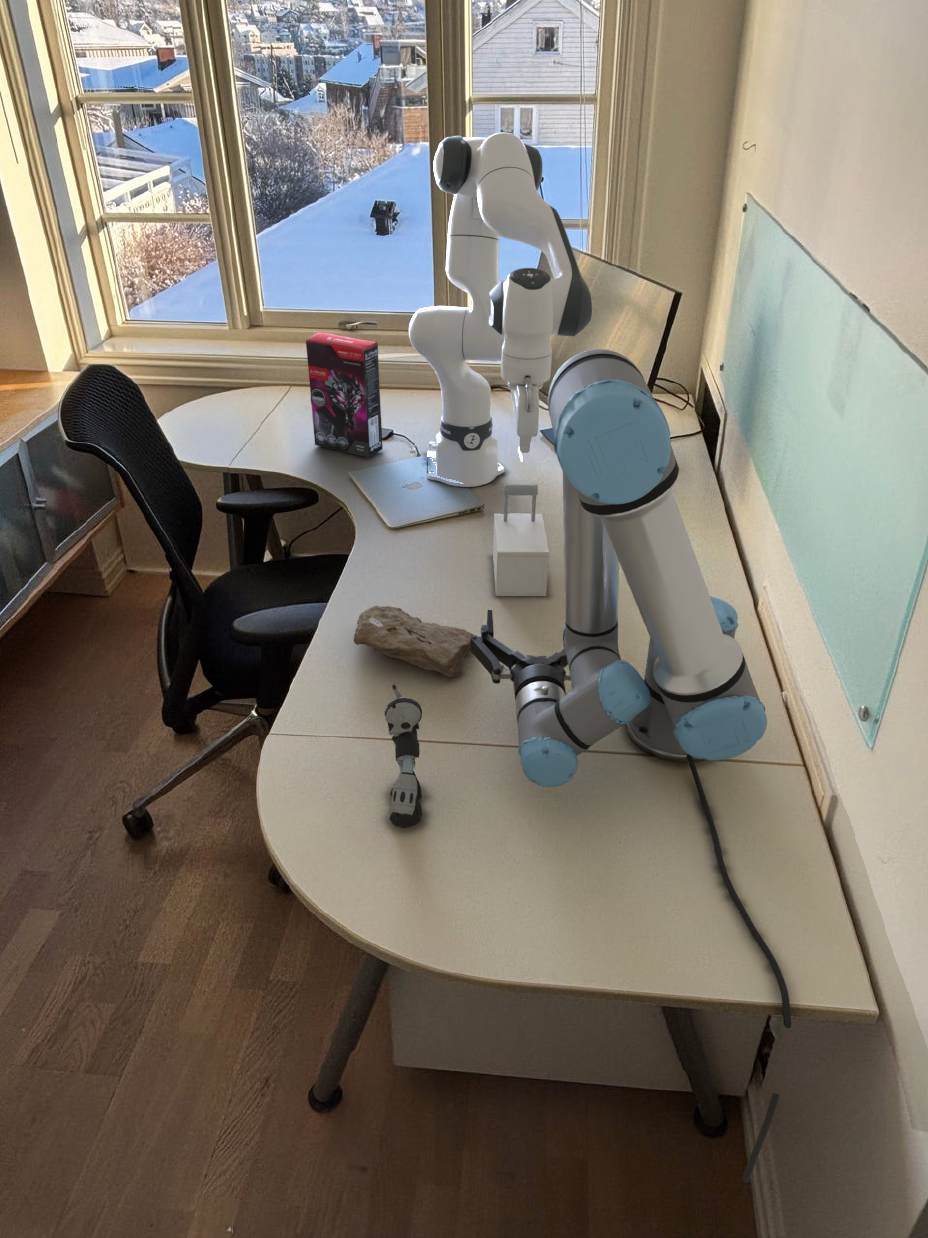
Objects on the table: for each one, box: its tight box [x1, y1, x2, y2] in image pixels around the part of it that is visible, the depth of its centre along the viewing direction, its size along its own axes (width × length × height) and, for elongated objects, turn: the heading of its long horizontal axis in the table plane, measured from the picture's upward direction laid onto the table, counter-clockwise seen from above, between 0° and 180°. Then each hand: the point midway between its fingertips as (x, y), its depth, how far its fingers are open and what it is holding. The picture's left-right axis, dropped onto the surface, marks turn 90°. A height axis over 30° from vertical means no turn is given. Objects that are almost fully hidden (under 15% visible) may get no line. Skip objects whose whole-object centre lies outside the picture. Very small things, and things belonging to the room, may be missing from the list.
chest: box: [492, 522, 550, 597], centre depth 179 cm, size 15×10×9 cm, turn 1°
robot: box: [383, 684, 423, 828], centre depth 123 cm, size 20×5×20 cm, turn 3°
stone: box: [353, 605, 474, 679], centre depth 158 cm, size 21×15×6 cm
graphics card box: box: [305, 331, 384, 458], centre depth 224 cm, size 17×7×27 cm, turn 62°
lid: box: [493, 483, 550, 557], centre depth 174 cm, size 16×10×9 cm, turn 1°
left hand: (522, 440), depth 171 cm, fingers open, 8 cm apart
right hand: (530, 617), depth 153 cm, fingers open, 13 cm apart
